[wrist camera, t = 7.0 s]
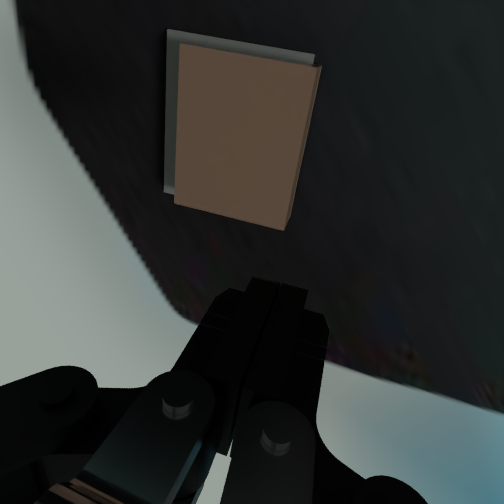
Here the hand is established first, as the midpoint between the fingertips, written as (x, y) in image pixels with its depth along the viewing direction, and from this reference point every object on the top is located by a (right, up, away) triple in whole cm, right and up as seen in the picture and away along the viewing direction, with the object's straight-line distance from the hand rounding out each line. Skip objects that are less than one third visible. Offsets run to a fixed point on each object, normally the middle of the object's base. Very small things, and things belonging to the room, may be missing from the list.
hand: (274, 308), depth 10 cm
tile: (+2, +8, +14) cm, 16 cm away
